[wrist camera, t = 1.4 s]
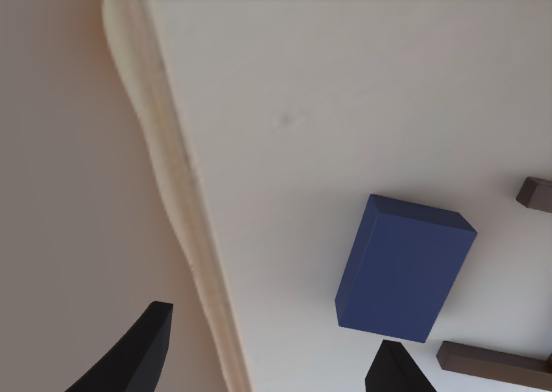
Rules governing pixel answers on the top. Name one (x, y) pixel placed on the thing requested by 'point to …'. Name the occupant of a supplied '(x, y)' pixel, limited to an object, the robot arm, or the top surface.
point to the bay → (497, 363)
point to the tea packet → (401, 268)
